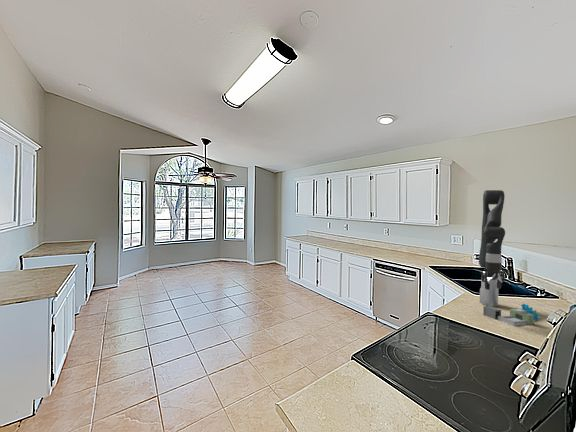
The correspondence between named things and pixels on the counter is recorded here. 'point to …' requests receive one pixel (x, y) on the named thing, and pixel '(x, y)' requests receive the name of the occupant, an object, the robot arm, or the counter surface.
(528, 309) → the gear
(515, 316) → the drawer with ball knob
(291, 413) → the counter surface
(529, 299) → the counter surface
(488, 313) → the grey lidded bin
